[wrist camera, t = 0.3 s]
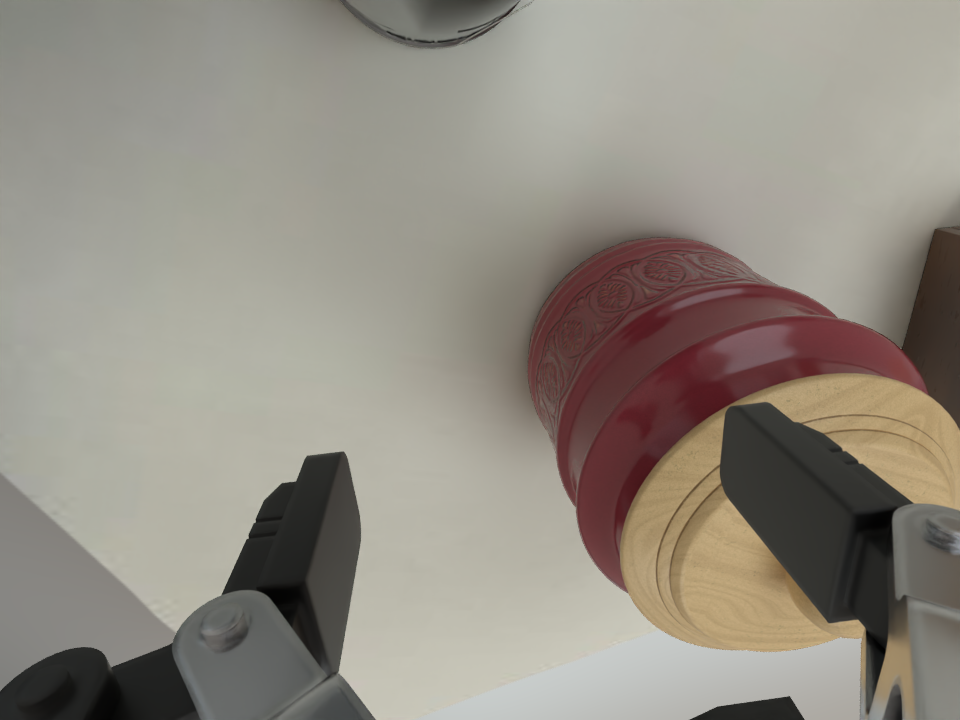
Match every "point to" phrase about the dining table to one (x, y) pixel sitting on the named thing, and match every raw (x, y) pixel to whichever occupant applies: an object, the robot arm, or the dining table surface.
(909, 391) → the kitchen canister
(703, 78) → the dining table surface
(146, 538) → the dining table surface
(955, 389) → the crate
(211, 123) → the dining table surface
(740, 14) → the dining table surface
